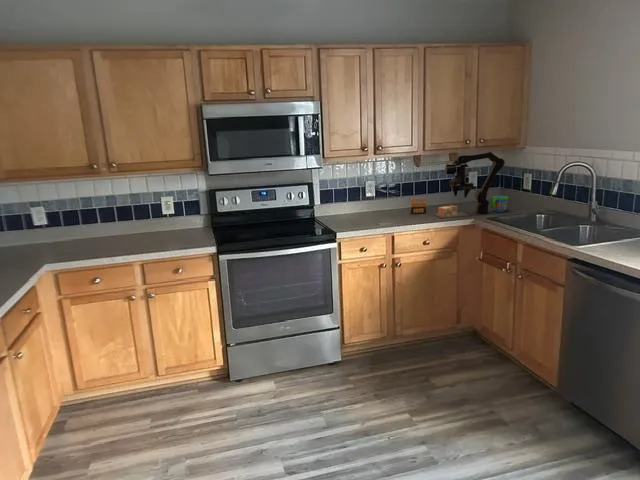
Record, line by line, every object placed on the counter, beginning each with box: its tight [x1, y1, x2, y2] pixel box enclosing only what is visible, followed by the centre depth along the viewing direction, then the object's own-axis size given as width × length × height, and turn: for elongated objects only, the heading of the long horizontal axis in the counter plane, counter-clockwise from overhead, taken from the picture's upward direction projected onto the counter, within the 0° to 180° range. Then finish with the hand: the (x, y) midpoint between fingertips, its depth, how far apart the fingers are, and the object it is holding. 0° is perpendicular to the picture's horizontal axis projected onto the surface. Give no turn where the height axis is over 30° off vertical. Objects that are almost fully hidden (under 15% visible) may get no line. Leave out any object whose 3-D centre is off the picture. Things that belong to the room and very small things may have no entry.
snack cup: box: [491, 195, 509, 213], centre depth 352 cm, size 16×10×10 cm
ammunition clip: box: [410, 196, 427, 215], centre depth 355 cm, size 11×2×12 cm, turn 88°
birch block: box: [437, 205, 459, 217], centre depth 343 cm, size 6×6×12 cm
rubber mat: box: [434, 211, 470, 219], centre depth 345 cm, size 20×11×1 cm, turn 101°
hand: (460, 196), depth 346 cm, fingers open, 9 cm apart
